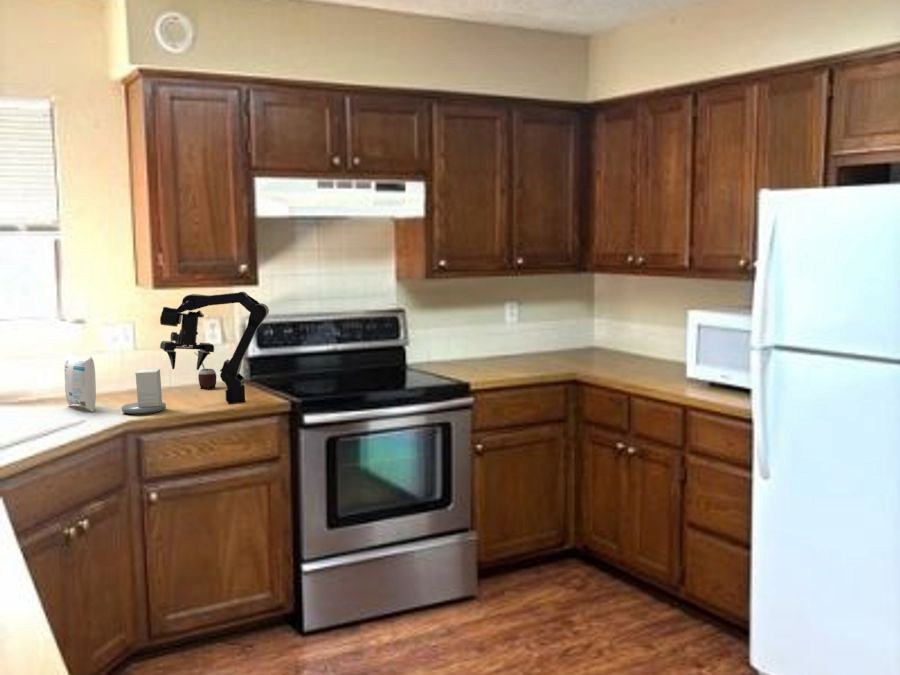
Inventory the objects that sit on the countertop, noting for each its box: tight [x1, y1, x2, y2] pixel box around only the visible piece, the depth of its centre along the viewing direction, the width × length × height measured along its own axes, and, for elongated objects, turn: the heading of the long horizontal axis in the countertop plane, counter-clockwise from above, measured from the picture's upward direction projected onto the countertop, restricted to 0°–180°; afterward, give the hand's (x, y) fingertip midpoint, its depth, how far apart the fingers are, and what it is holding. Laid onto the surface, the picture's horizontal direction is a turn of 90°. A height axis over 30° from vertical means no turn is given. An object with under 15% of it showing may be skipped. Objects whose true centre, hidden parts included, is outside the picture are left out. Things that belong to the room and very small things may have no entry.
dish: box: [121, 401, 167, 415], centre depth 320 cm, size 15×15×2 cm
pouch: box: [64, 352, 97, 413], centre depth 326 cm, size 8×19×20 cm, turn 44°
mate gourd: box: [193, 352, 217, 391], centre depth 364 cm, size 8×8×15 cm
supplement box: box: [135, 368, 163, 407], centre depth 320 cm, size 7×7×13 cm
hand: (185, 369), depth 333 cm, fingers open, 9 cm apart
